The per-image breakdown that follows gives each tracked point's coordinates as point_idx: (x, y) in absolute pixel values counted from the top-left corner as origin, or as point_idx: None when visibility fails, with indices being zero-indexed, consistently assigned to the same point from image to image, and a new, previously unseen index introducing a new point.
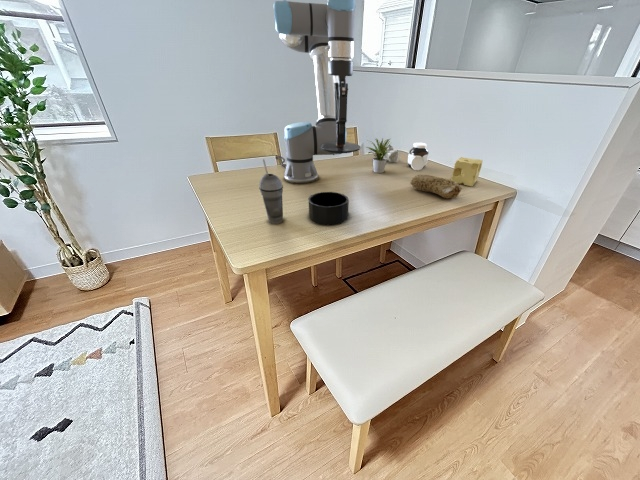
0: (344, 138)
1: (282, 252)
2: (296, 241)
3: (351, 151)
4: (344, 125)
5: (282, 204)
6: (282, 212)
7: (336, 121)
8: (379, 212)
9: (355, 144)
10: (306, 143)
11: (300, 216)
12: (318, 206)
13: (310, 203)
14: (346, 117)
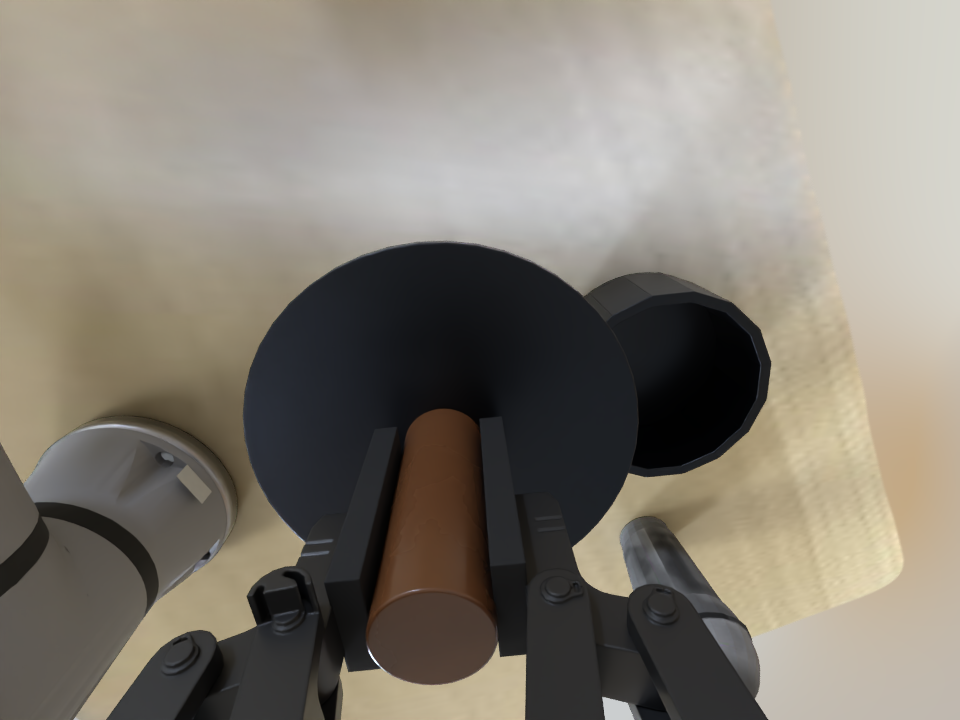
0: (506, 453)
1: (867, 491)
2: (812, 460)
3: (620, 347)
4: (524, 554)
5: (672, 559)
6: (663, 538)
7: (452, 678)
8: (622, 91)
9: (348, 289)
10: (41, 631)
11: None
12: (746, 432)
13: (700, 464)
14: (723, 653)
